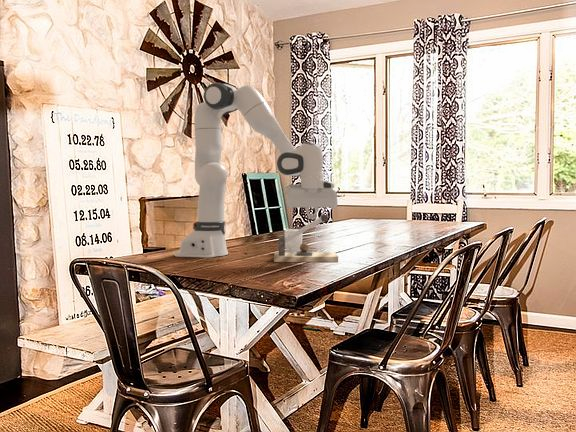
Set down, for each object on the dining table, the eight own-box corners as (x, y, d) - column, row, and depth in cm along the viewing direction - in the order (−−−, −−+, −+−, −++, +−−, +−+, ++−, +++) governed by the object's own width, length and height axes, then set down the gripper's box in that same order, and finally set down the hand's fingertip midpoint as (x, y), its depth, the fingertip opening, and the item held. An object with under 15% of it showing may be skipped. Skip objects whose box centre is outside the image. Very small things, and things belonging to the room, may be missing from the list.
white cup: (300, 254, 235) (300, 231, 235) (282, 253, 237) (282, 230, 236) (304, 251, 243) (304, 229, 242) (286, 251, 245) (286, 228, 244)
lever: (280, 247, 217) (277, 241, 217) (280, 245, 224) (277, 239, 224) (329, 219, 217) (325, 213, 216) (327, 218, 223) (324, 212, 223)
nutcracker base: (274, 261, 215) (273, 238, 214) (274, 257, 227) (274, 235, 226) (338, 261, 215) (338, 238, 214) (335, 257, 227) (335, 235, 226)
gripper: (285, 184, 216) (285, 219, 217) (338, 184, 216) (337, 219, 217) (285, 184, 222) (285, 218, 223) (336, 183, 222) (336, 218, 223)
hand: (311, 218), depth 220 cm, fingers closed
